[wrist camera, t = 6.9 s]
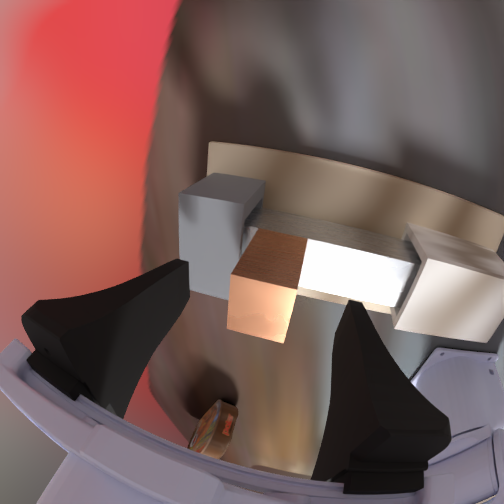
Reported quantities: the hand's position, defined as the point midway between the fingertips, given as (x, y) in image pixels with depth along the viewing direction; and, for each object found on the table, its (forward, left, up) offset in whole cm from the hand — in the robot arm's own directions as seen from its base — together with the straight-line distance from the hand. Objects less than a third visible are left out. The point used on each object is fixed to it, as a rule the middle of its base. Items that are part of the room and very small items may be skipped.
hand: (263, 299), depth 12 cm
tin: (+4, +30, -8) cm, 32 cm away
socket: (+4, 0, -8) cm, 9 cm away
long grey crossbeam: (-3, 0, -7) cm, 7 cm away
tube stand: (-5, 0, -8) cm, 10 cm away
